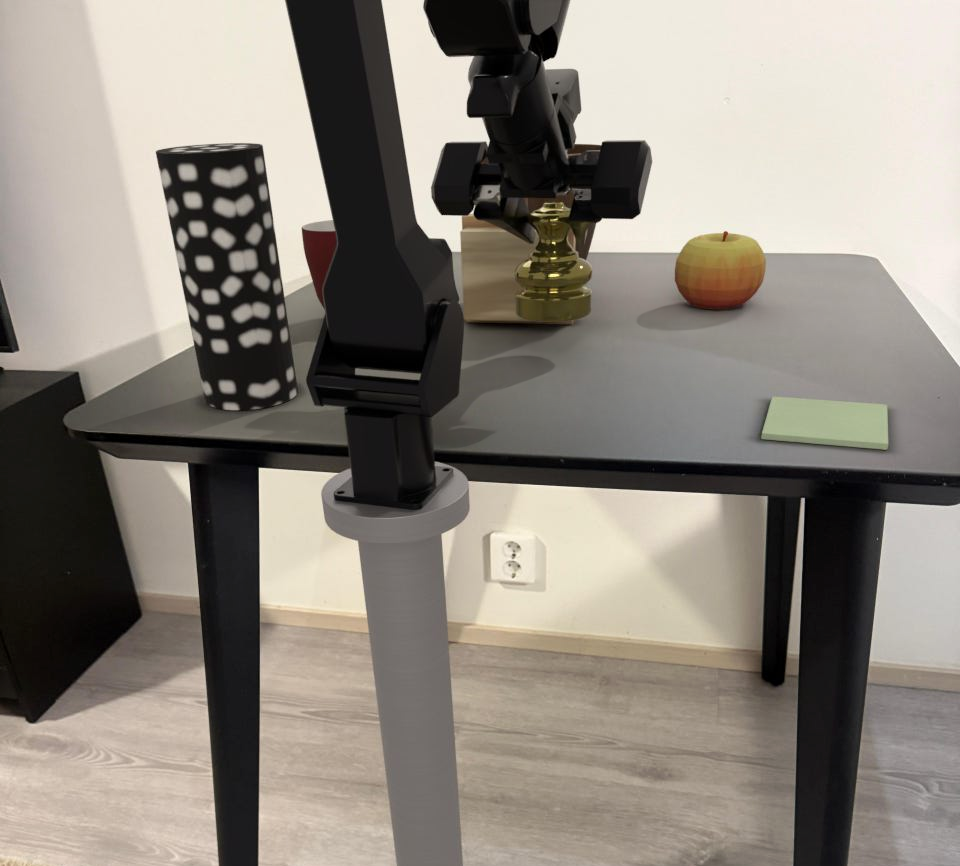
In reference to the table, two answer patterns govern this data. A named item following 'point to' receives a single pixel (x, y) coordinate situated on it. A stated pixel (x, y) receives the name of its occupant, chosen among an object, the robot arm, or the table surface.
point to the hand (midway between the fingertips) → (558, 240)
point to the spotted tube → (230, 272)
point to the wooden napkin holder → (493, 271)
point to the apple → (720, 270)
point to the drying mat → (827, 422)
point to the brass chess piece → (552, 271)
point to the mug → (319, 251)
